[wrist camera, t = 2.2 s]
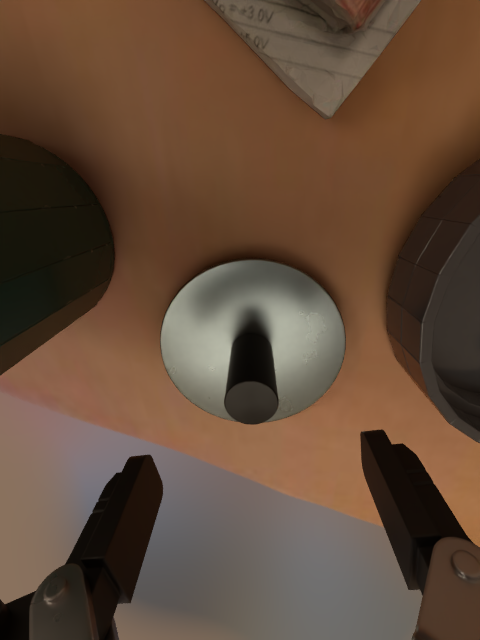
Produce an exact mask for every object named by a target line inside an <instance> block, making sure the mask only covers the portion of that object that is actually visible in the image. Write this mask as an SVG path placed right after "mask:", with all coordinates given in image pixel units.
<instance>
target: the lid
mask: <svg viewBox="0 0 480 640" xmlns="http://www.w3.org/2000/svg"><path fill="white" fill-rule="evenodd" d="M345 345H346V336H345V329H344V324H343V321H342V317H341V314H340V312H339V310H338V308H337V306H336V304H335V303H334V301H333V300H332V298H331V297H330V295H329V294H328V292H327V291H326V290H325V289H324V288H323V287H322V286H321V285H320V284H319V283H318V282H317V281H316V280H315V279H313V278H312V277H311V276H310V275H308V274H306V273H305V272H303V271H301V270H300V269H298V268H296V267H293V266H291V265H289V264H286V263H283V262H279V261H276V260H271V259H264V258H242V259H234V260H230V261H226V262H222V263H219V264H217V265H214V266H212V267H209V268H207V269H206V270H204V271H202V272H200V273H198V274H197V275H196V276H195V277H193V278H192V279H191V280H189V281H188V282H187V283H186V284H185V285H184V286H183V287H182V288H181V289H180V290H179V292H178V293H177V295H176V296H175V297H174V299H173V300H172V301H171V303H170V305H169V307H168V309H167V311H166V314H165V316H164V319H163V322H162V328H161V335H160V346H161V354H162V358H163V362H164V365H165V368H166V370H167V372H168V375H169V376H170V378H171V380H172V381H173V383H174V384H175V386H176V387H177V388H178V390H179V391H180V392H181V393H182V394H183V395H184V396H185V397H186V398H187V399H188V400H190V401H191V402H192V403H193V404H195V405H196V406H198V407H199V408H201V409H202V410H204V411H206V412H208V413H210V414H212V415H215V416H218V417H220V418H223V419H227V420H231V421H236V422H241V423H244V424H260V423H263V422H270V421H276V420H280V419H283V418H287V417H289V416H292V415H294V414H297V413H299V412H300V411H302V410H304V409H306V408H308V407H309V406H310V405H312V404H313V403H315V402H316V401H317V400H318V399H319V398H320V397H322V396H323V395H324V393H325V392H326V391H327V390H328V389H329V388H330V386H331V385H332V383H333V382H334V380H335V379H336V377H337V375H338V373H339V371H340V368H341V365H342V362H343V359H344V354H345Z"/></svg>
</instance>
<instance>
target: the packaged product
mask: <svg viewBox="0 0 480 640" xmlns="http://www.w3.org/2000/svg"><path fill="white" fill-rule="evenodd" d="M204 1H205V2H206V3H207V4H208V5H209V6H210V7H211V8H212V9H213V10H214V11H216V12H217V13H218V14H219V15H220V16H221V17H222V18H223V19H224V20H225V21H226V22H227V23H228V24H229V26H230V27H231V28H232V29H233V30H234V31H235V32H236V33H237V34H238V35H239V36H240V37H241V38H242V39H243V40H244V41H245V42H246V43H247V44H248V46H249V47H250V48H251V49H252V50H253V51H254V52H255V53H256V54H257V55H258V56H259V57H260V58H261V59H262V60H263V61H264V62H265V63H266V64H267V66H268V67H269V68H270V69H271V70H272V71H273V72H274V73H275V74H276V75H277V76H278V77H279V78H280V79H281V80H282V81H283V82H284V83H285V84H286V85H287V87H288V88H289V89H290V90H291V91H293V92H294V93H295V94H296V95H297V96H299V97H300V98H301V99H302V100H303V101H304V102H306V103H307V104H308V105H309V106H310V107H311V108H313V109H314V110H315V111H316V112H317V113H318V114H320V115H321V116H322V117H323V118H324V119H329V118H331V117H332V116H333V115H334V113H335V112H336V111H337V109H338V108H339V107H340V106H341V104H342V103H343V102H344V100H345V99H346V98H347V97H348V95H349V94H350V93H351V91H352V90H353V89H354V88H355V86H356V85H357V84H358V82H359V81H360V80H361V79H362V77H363V76H364V75H365V73H366V72H367V71H368V69H369V68H370V67H371V66H372V64H373V63H374V62H375V60H376V59H377V58H378V57H379V55H380V54H381V53H382V51H383V50H384V49H385V48H386V46H387V45H388V44H389V42H390V41H391V40H392V38H393V37H394V36H395V35H396V33H397V32H398V31H399V29H400V28H401V27H402V25H403V24H404V23H405V21H406V20H407V19H408V17H409V16H410V15H411V13H412V12H413V11H414V9H415V8H416V7H417V5H418V4H419V3H420V1H421V0H204Z"/></svg>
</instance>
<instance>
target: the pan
mask: <svg viewBox="0 0 480 640" xmlns="http://www.w3.org/2000/svg"><path fill="white" fill-rule="evenodd" d="M398 256H399V257H398V259H397V262H396V266H395V269H394V273H393V276H392V280H391V283H390V286H389V290H388V295H387V332H388V335H389V338H390V341H391V344H392V347H393V350H394V353H395V357H396V358H397V360H398V362H399V363H400V364H401V366H402V367H403V368H404V370H405V371H406V372H407V374H408V375H409V376H410V378H411V379H412V380H413V381H414V383H415V384H416V385H417V386H418V387H419V389H420V390H421V391H422V392H423V393H424V395H425V396H426V397H427V398H428V399H429V401H430V402H431V403H432V404H433V405H434V406H435V408H436V409H437V410H438V411H439V412H440V414H441V415H442V416H443V417H444V418H445V420H446V421H447V422H448V423H449V424H450V425H452V426H453V427H455V428H456V429H458V430H459V431H461V432H462V433H464V434H465V435H467V436H468V437H470V438H471V439H473V440H474V441H476V442H478V443H480V159H479V160H478V161H476V162H475V163H474V164H472V165H471V166H470V167H468V168H467V169H466V170H464V171H463V172H462V173H460V174H459V175H458V176H457V177H455V178H454V179H453V180H452V181H451V182H450V184H449V185H448V186H447V187H446V188H445V189H444V190H443V191H442V193H441V194H440V195H439V196H438V197H437V198H436V199H435V200H434V202H433V203H432V204H431V205H430V206H429V207H428V208H427V209H426V211H425V212H424V213H423V214H422V215H421V217H420V218H419V220H418V222H417V224H416V225H415V227H414V229H413V231H412V232H411V234H410V236H409V238H408V239H407V241H406V243H405V245H404V246H403V248H402V250H401V252H400V253H399V255H398Z"/></svg>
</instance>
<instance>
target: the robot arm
mask: <svg viewBox="0 0 480 640" xmlns="http://www.w3.org/2000/svg"><path fill="white" fill-rule="evenodd" d="M360 436H361V458H362V467H363V472H364V476H365V479H366V482H367V484H368V487H369V489H370V492H371V494H372V497H373V500H374V502H375V505H376V507H377V510H378V512H379V515H380V517H381V520H382V523H383V525H384V528H385V530H386V533H387V535H388V538H389V540H390V543H391V545H392V548H393V551H394V553H395V556H396V558H397V561H398V563H399V566H400V569H401V571H402V573H403V576H404V579H405V582H406V584H407V586H408V589H409V590H418V589H420V590H421V592H422V595H423V598H422V603H421V607H420V612H419V616H418V621H417V625H416V629H415V632H414V634H413V636H412V640H480V547H478V546H477V545H475V544H474V543H473V542H472V541H471V540H470V539H469V538H468V536H467V535H466V534H465V532H464V531H463V529H462V527H461V526H460V524H459V523H458V521H457V519H456V518H455V516H454V514H453V513H452V511H451V510H450V508H449V506H448V505H447V503H446V502H445V500H444V498H443V497H442V495H441V494H440V492H439V490H438V489H437V487H436V486H435V485H434V484H433V481H432V479H431V477H430V476H429V474H428V473H427V472H426V470H425V468H424V466H423V465H422V463H421V461H420V460H419V458H418V457H417V455H416V454H415V453H414V452H412V451H411V450H410V449H409V448H408V447H406V446H405V445H404V444H393V445H392V444H391V442H390V440H389V439H388V437H387V435H386V433H385V432H384V430H373V431H364V432H361V434H360ZM162 496H163V485H162V480H161V478H160V475H159V473H158V470H157V468H156V466H155V463H154V461H153V458H152V456H151V455H141V456H132V457H130V458H129V459H128V460H127V462H126V464H125V466H124V469H123V471H122V472H120V473H116V474H115V475H114V477H113V478H112V479H111V480H110V481H109V482H108V483H107V484H106V486H105V488H104V490H103V492H102V494H101V495H100V498H99V501H98V502H97V503H96V505H95V507H94V509H93V513H92V514H91V515H90V517H89V519H88V521H87V523H86V525H85V527H84V529H83V531H82V533H81V535H80V537H79V539H78V541H77V543H76V545H75V547H74V549H73V551H72V553H71V555H70V556H69V558H68V560H67V562H66V564H65V565H63V566H61V567H59V568H58V569H56V570H55V571H53V572H52V573H51V574H50V575H49V576H47V577H46V579H45V580H44V581H43V582H42V583H41V585H40V586H39V587H38V589H37V590H36V591H35V592H32V593H30V594H28V595H26V596H23V597H21V598H19V599H16V600H14V601H12V602H10V603H7V604H4V603H3V602H2V601H1V600H0V640H119V637H118V632H117V628H116V623H115V620H114V617H113V616H114V613H115V610H116V607H117V604H120V603H131V600H132V596H133V593H134V590H135V586H136V583H137V580H138V576H139V573H140V570H141V567H142V563H143V560H144V557H145V553H146V550H147V547H148V543H149V540H150V537H151V533H152V530H153V527H154V523H155V520H156V517H157V513H158V510H159V507H160V503H161V500H162Z"/></svg>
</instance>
